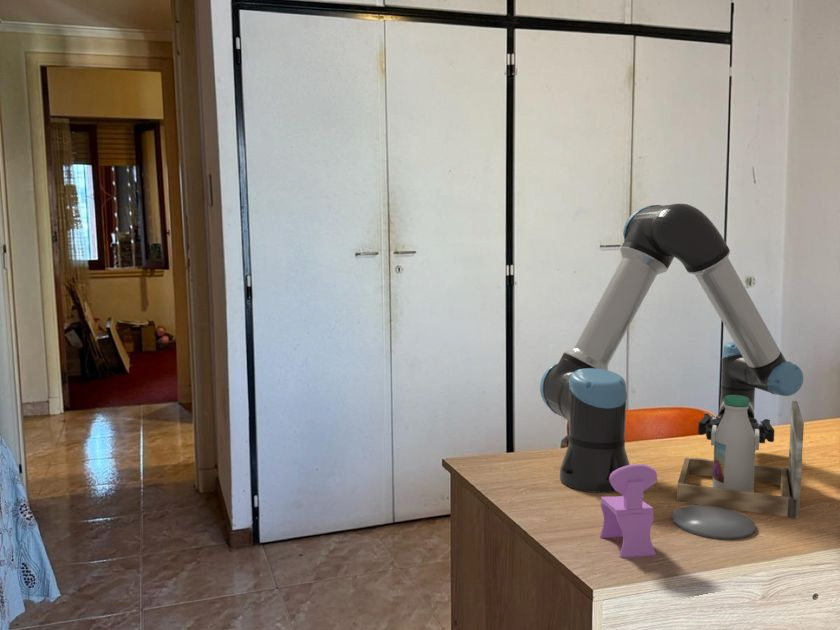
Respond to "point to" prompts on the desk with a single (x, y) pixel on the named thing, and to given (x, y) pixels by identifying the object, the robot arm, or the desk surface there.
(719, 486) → the milk bottle
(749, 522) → the pad
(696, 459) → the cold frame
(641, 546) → the toy chair
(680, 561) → the desk surface
